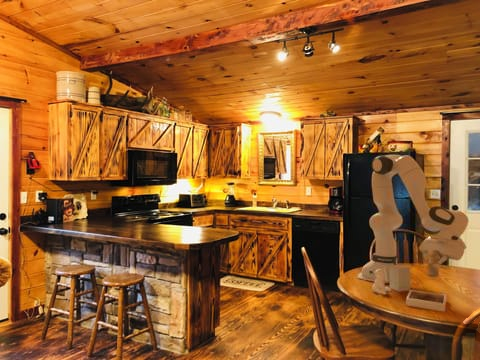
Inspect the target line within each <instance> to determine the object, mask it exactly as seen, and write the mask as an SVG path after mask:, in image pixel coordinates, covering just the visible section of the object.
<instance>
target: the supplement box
mask: <svg viewBox="0 0 480 360" xmlns="http://www.w3.org/2000/svg"><path fill="white" fill-rule="evenodd" d="M389 288H390V289H391V290H394V291H396V292H399V293H400V292H409V291H410V290H411V267H409V266H405V265H402V264H397V265H392V266H390V283H389Z"/></svg>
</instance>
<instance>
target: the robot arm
mask: <svg viewBox="0 0 480 360" xmlns="http://www.w3.org/2000/svg"><path fill="white" fill-rule="evenodd" d="M371 168H372V174H371V190H372V199H373V203H374V204H375V205H376V208H377V210H378V212H377V213H375V214H373V215H372V216H371V217H370V218H369V227H370V229H372V231H373V234H374V239H375V252H374V253H372V255H371V261H368V262H367V263H366V264H365V265H363V267H362V268H361V272H360V273H358V274H357V276H356V277H357V279H358V280H359V279H360V280H364V281H369V282H373V283H375V279H376V278H377V277H376V275H375V273H374V271H376V270H379V269H382V272H383V274H384V279H383V280H384V284H390V266H392V265H398V256H397V241H396V239H395V238H394V234H393V231H395V230H397V229H399V228H400V227H401V226H402V224H403V221H404V220H403V216H402V215H401V214H400V212H399V210H398V207H397V204H396V202H395V197H394V195H395V194H394V189H393V183H392V182H393V181H392V178H393V177H394V176H395V177H397V176H399V177H400V179H401V181H402V184H403V185H404V187H405V188H406V190H407V193H408V195H409V198H410V200H411V202H412V205H413V206H414V209H415V211H416V213H417V215H418V217H419V222H420V227H421V229H422V231H423V232H425V233H426V234H429V235H437V236H436V237H432V236H429V237H427V238H425V239H424V240H423V241H422V242H421V243H420V245H419V247H418V249H419V252H420V253H422V254H425V255H426V257H425V261H426V262H428V263H429V250H438V251H439V259H438V260H437V261H436V262H437V264H439V266H440V265H442V264H443V263H444V262H446V261H447V259H448V260H452V261H453V260H454V261H459V260H461V259H462V258H463V256H464V254H465V250H466V249H467V246H466V243H465V242H464V241H463V239H462V238H461V235H464V233H465V231H466V229H467V227H468V225H469V217H468V215H467V214H465V213H464V212H463V211H462V210H461V211H460V210H451V209H446V208H445V207H443V206H441V205H440V206H439V205H436V206H435V205H434V206H433V207H431V208H430V207H429V204H428V203H427V201H426V197H425V195H426V193H425V192H426V187H427V178H426V175H425V173H424V170H422V168H421V167H420V165H419V164H418V163H417V161H416V160H415V159H414V158H413V157H412V156H410V155H409V154H408V155H407V154H406V155H402V154H387V155H386V154H385V155H383V154H382V155H379V156H376V157H374V159H372V162H371Z"/></svg>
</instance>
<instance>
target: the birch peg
mask: <svg viewBox="0 0 480 360" xmlns="http://www.w3.org/2000/svg"><path fill="white" fill-rule="evenodd" d="M438 259H440V257H439V251H438V250H429V262H428V263H427V264H428V267H427V268H428V269H427V270H428V271H427V274H428V277H430V278H439V276H440V274H439V272H440V264H437V262H436V261H437V260H438Z"/></svg>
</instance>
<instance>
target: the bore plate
mask: <svg viewBox="0 0 480 360" xmlns="http://www.w3.org/2000/svg"><path fill="white" fill-rule="evenodd" d="M411 299H418V300H424V301H431V302H437V303H443V296H437V295H430V294H423V293H416V292H413V293H412V295H411Z"/></svg>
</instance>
